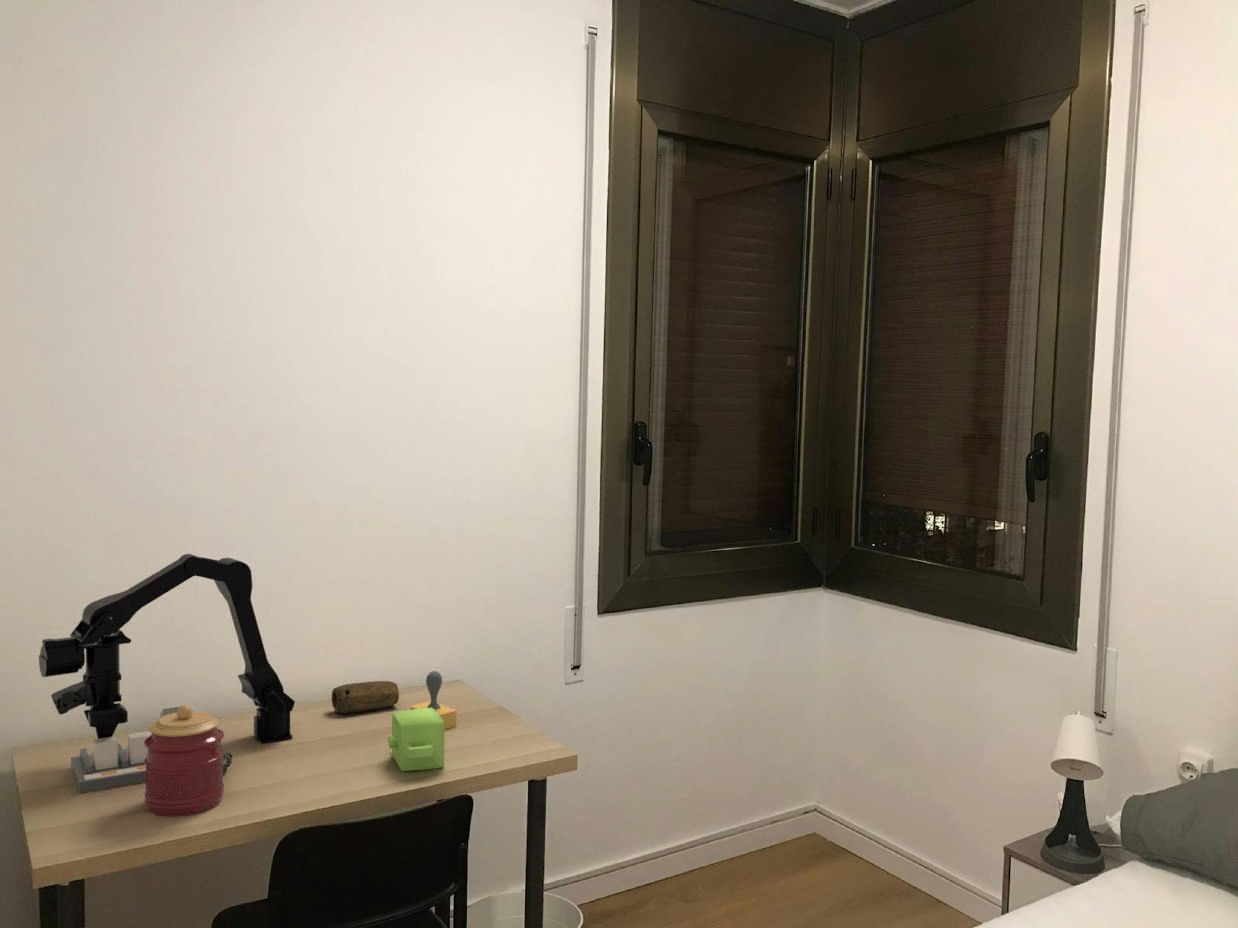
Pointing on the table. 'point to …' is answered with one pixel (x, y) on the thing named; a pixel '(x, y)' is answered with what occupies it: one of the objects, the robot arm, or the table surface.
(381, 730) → the table surface
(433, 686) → the rubber stamp
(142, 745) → the tab
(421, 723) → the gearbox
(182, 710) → the canister
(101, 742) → the tab
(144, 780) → the switch panel
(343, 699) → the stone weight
